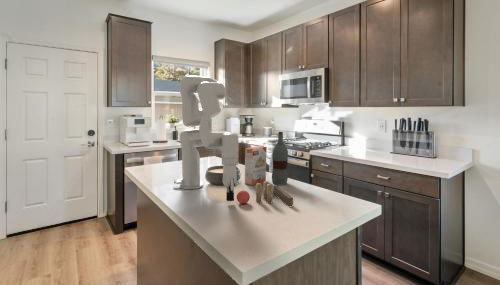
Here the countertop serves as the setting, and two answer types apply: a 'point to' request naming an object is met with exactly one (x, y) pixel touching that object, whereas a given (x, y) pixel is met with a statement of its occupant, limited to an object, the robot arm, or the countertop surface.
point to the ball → (243, 197)
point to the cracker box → (255, 165)
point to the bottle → (280, 162)
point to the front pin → (258, 192)
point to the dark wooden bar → (283, 195)
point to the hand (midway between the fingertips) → (230, 200)
